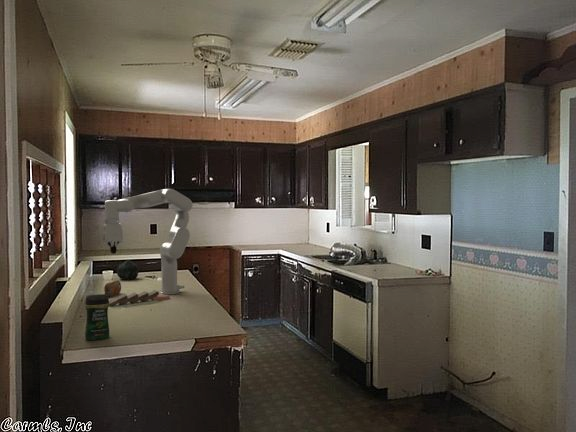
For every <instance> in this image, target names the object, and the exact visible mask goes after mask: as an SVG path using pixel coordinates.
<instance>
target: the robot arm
mask: <svg viewBox="0 0 576 432" xmlns="http://www.w3.org/2000/svg"><path fill="white" fill-rule="evenodd" d="M168 203H169V204H171V205H172V207H173V210H174V212H175V218H174V220H173V223H172V225H171V228H170V230H169V232H168V237H169V239H170V241H166V242H164V243H162V244H161V245H160V248H159V254H160V259H161V260H160V261H161V262H160V263H161V265H160V266H161V268H160V269H161V275H160V277H161V290H159V291H158V292H159V295H168V296H169V295H176V294H177V295H178V294H179V293H180V292H181V290H180V289H182V290H183V289H185V284H184V285H179V284H178V261H177V259H179V258H181V257H182V255H183V254H184V252H185V250H186V247H187V245H188V243H189V240H190V236H191V233H190V231H189V229H188V228H187V227H188V224H189V221H190V215H189V212H190V211H191V210H192V209H193V202H192V200H191V199H190V198H189V197H187V196H186V195H184V194H182V193H181V192H179V191H177V190H175V189H174V188H163V189H158V190H154V191H151V192H146V193H142V194H138V195H133V196H130V197H125V198H121V199H117V200H115V199H112V200H111V199H109V200H108V199H107V200H105V201H104V219H103V220H102V223H105V224H104V225H103V230H102V231H103V232H102V234H103V236H102V238H103V239H102V240H103V244H104V245H107V246H109V249H110V251H109V252H110V253H111V254H116V253H117V246H118V245H119V244H121V243H123V242H124V241H123V240H124V234H123V227H122V223H120V213H130V212H131V211H133V210H134V209H141V208H142V209H144V208H151V207H154V206H158V205H159V206H160V205H163V204H168Z"/></svg>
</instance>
